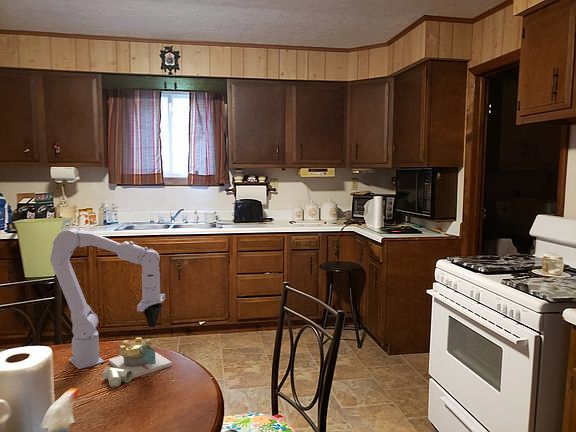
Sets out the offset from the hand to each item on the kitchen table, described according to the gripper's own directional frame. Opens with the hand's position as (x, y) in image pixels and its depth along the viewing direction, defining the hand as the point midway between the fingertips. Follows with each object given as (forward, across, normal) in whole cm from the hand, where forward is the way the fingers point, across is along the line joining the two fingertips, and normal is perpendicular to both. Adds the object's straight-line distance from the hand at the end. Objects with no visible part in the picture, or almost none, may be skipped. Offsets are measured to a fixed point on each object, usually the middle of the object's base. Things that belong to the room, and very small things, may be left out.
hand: (152, 326), depth 151 cm
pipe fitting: (+11, -20, +1) cm, 23 cm away
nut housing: (+10, -8, +1) cm, 13 cm away
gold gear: (+6, -10, -2) cm, 12 cm away
